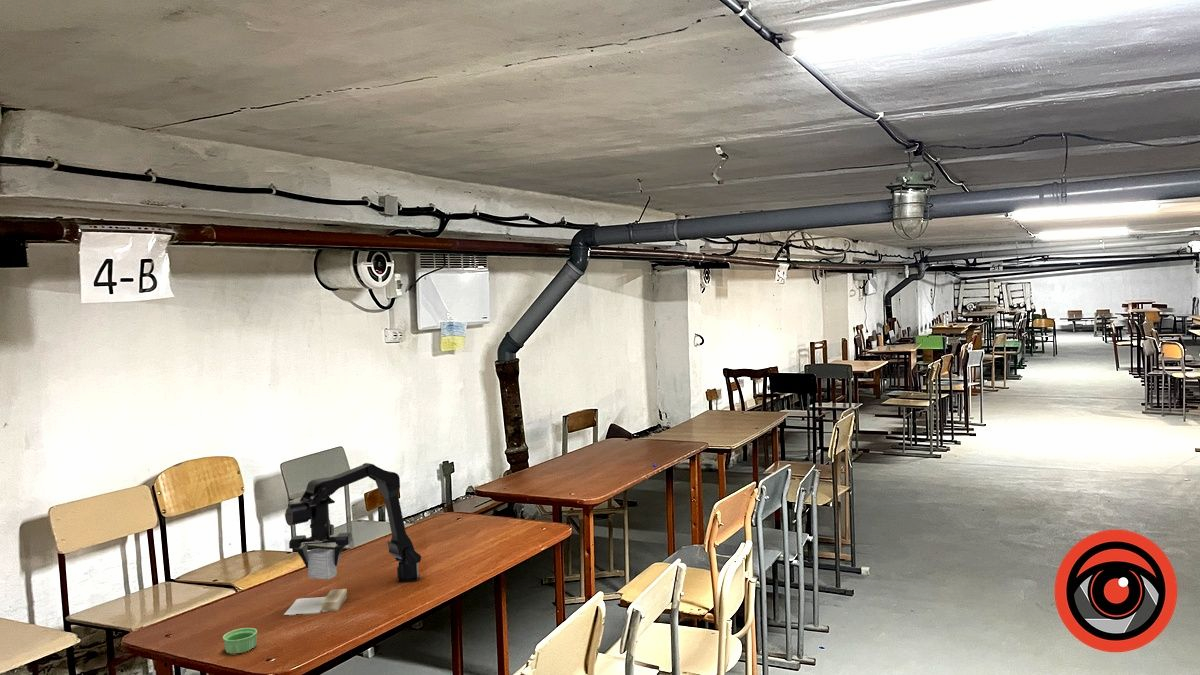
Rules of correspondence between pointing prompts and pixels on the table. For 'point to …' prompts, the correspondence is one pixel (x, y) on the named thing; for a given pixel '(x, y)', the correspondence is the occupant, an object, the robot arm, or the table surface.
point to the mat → (306, 606)
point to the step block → (334, 600)
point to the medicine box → (321, 563)
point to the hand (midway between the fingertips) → (322, 566)
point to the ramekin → (240, 640)
